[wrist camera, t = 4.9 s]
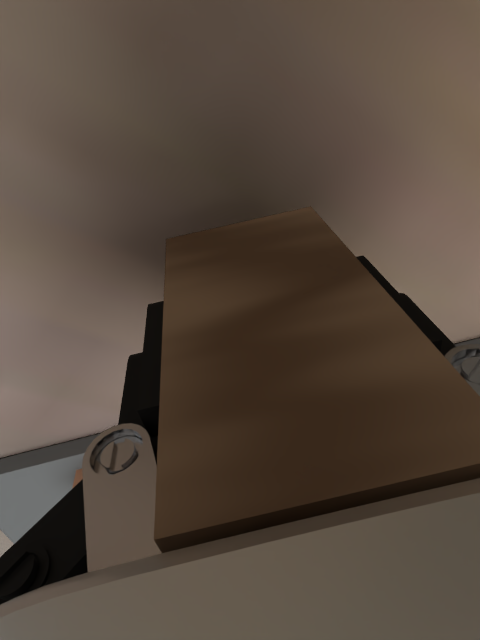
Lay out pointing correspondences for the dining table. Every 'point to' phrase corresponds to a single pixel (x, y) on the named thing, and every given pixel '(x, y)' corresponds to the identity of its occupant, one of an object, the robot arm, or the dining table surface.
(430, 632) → the robot arm
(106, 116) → the dining table surface
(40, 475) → the tag board
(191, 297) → the walnut plug
